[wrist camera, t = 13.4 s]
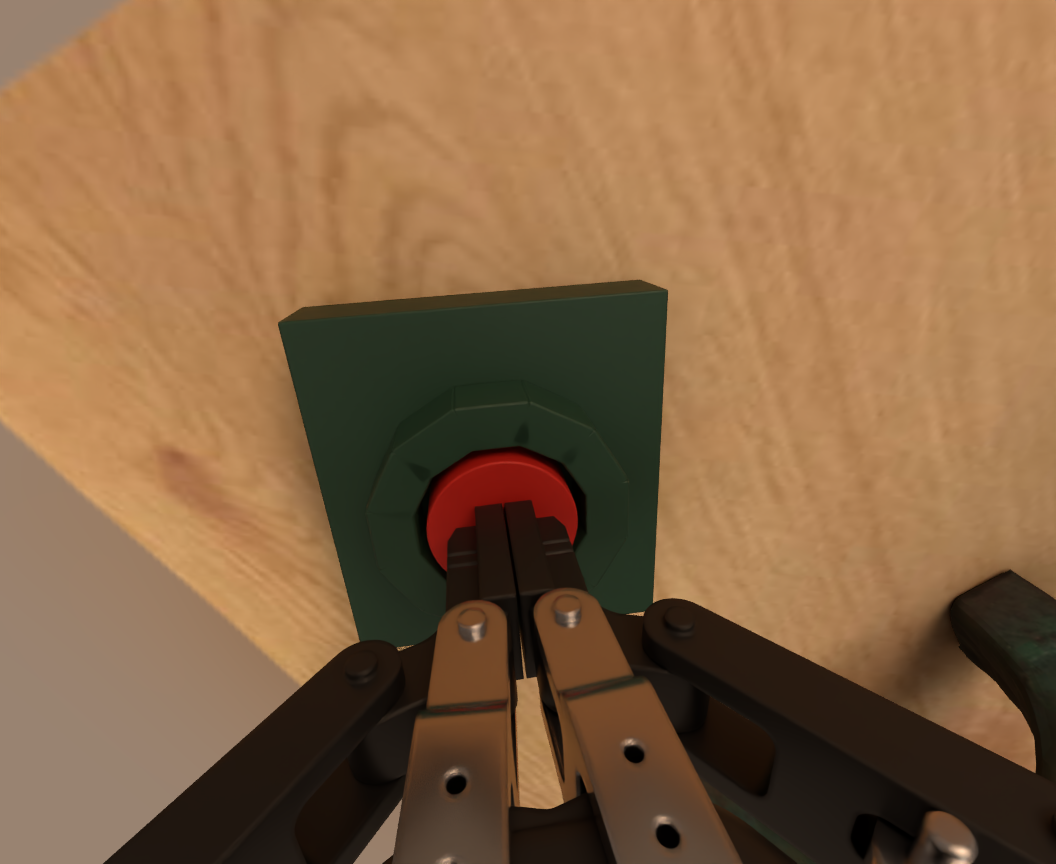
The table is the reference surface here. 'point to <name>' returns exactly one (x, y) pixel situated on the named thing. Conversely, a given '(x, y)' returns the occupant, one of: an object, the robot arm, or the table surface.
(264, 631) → the table surface
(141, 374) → the table surface
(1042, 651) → the ceramic cat
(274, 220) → the table surface
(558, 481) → the button
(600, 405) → the button block
